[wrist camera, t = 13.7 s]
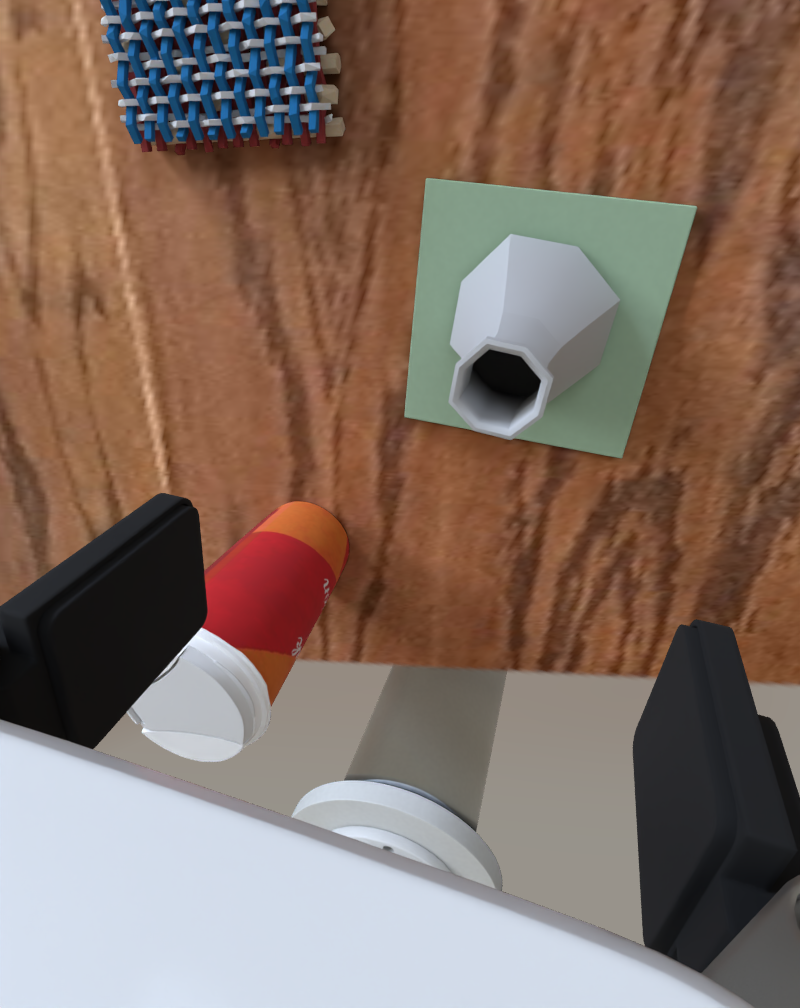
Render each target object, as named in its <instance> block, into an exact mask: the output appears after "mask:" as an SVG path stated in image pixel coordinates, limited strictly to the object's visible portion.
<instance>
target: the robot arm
mask: <svg viewBox="0 0 800 1008" xmlns="http://www.w3.org/2000/svg"><path fill="white" fill-rule="evenodd" d="M207 613H208V607H207V597H206V586H205V575H204V565H203V554H202V543H201V533H200V522H199V514H198V511H197V509H196V508H194V507H193V505H192V503H191V501H190V500H188V499H186V498H182V497H178V496H174V495H169V494H165V493H160V494H158V495H156V496H155V497H153V498H152V499H150V500H149V501H148V502H146V503H145V504H143V505H142V506H141V507H139V508H138V509H136V510H135V511H134V512H132V513H131V514H129V515H128V516H126V517H125V518H124V519H122V520H121V521H119V522H118V523H117V524H115V525H114V526H112V527H111V528H110V529H108V530H107V531H105V532H104V533H103V534H101V535H100V536H98V537H97V538H96V539H94V540H93V541H91V542H90V543H89V544H87V545H86V546H84V547H83V548H82V549H80V550H79V551H77V552H76V553H75V554H73V555H72V556H70V557H69V558H68V559H66V560H65V561H63V562H62V563H61V564H59V565H58V566H56V567H55V568H53V569H52V570H51V571H49V572H48V573H46V574H45V575H44V576H42V577H41V578H39V579H38V580H37V581H35V582H34V583H32V584H31V585H30V586H28V587H27V588H25V589H24V590H23V591H21V592H20V593H18V594H17V595H16V596H14V597H13V598H11V599H10V600H9V601H7V602H6V603H4V604H3V605H2V606H0V1008H800V797H799V793H798V790H797V787H796V784H795V781H794V778H793V775H792V772H791V768H790V765H789V763H788V759H787V756H786V753H785V750H784V747H783V744H782V740H781V738H780V734H779V731H778V729H777V727H776V724H775V722H774V721H773V720H771V719H770V718H769V717H765V716H761V715H758V714H757V710H756V707H755V704H754V700H753V697H752V693H751V690H750V686H749V683H748V679H747V676H746V673H745V669H744V666H743V662H742V659H741V655H740V652H739V649H738V645H737V642H736V638H735V635H734V632H733V630H732V629H731V628H730V627H726V626H722V625H718V624H714V623H710V622H705V621H701V620H697V619H696V620H694V621H693V622H692V623H691V625H690V626H686V625H680V626H679V627H678V629H677V631H676V633H675V636H674V638H673V640H672V643H671V645H670V648H669V650H668V653H667V655H666V658H665V660H664V662H663V665H662V667H661V670H660V672H659V675H658V677H657V679H656V682H655V684H654V687H653V689H652V692H651V694H650V697H649V699H648V701H647V704H646V706H645V709H644V711H643V714H642V716H641V719H640V721H639V723H638V726H637V728H636V731H635V735H634V741H633V763H634V781H635V799H636V817H637V835H638V852H639V871H640V889H641V906H642V907H641V908H642V926H643V939H644V944H645V946H643V945H641V944H638V943H636V942H634V941H631V940H629V939H626V938H624V937H622V936H619V935H617V934H615V933H612V932H610V931H608V930H605V929H603V928H600V927H597V926H595V925H592V924H589V923H587V922H584V921H581V920H578V919H575V918H573V917H570V916H568V915H565V914H562V913H560V912H557V911H554V910H551V909H549V908H546V907H543V906H540V905H538V904H535V903H532V902H530V901H527V900H524V899H522V898H519V897H516V896H513V895H511V894H508V893H506V892H502V891H500V890H497V889H495V888H492V887H489V886H486V885H483V884H480V883H477V882H475V881H472V880H469V879H466V878H463V877H460V876H458V875H455V874H453V873H452V872H451V871H450V869H449V868H448V867H447V866H446V865H445V864H444V863H443V862H442V861H441V860H440V859H439V858H437V857H436V856H435V855H434V854H433V853H431V852H430V851H428V850H427V849H425V848H424V847H422V846H421V845H419V844H418V843H416V842H414V841H411V840H409V839H407V838H405V837H403V836H401V835H398V834H395V833H393V832H390V831H386V830H382V829H378V828H374V827H366V826H346V827H341V828H337V829H334V830H332V831H329V830H326V829H324V828H321V827H318V826H315V825H312V824H309V823H306V822H303V821H301V820H298V819H295V818H292V817H289V816H286V815H283V814H280V813H277V812H275V811H272V810H269V809H266V808H263V807H260V806H257V805H254V804H251V803H248V802H246V801H243V800H240V799H237V798H234V797H231V796H228V795H225V794H222V793H219V792H217V791H214V790H211V789H208V788H205V787H202V786H199V785H196V784H193V783H190V782H188V781H185V780H182V779H178V778H176V777H172V776H170V775H167V774H164V773H161V772H158V771H155V770H152V769H149V768H146V767H143V766H140V765H137V764H134V763H132V762H129V761H126V760H122V759H120V758H117V757H114V756H111V755H108V754H105V753H102V752H99V751H96V750H93V749H94V748H95V747H96V746H97V745H98V744H99V742H100V741H101V740H102V739H103V738H104V737H105V736H106V735H107V733H108V732H109V731H110V730H111V729H112V728H113V727H114V726H115V724H116V723H117V722H118V721H119V720H120V719H121V718H122V716H123V715H124V714H125V713H126V712H127V711H128V710H129V709H130V708H131V706H132V705H133V704H134V703H135V702H136V701H137V700H138V699H139V697H140V696H141V695H142V694H143V693H144V692H145V691H146V690H147V689H148V687H149V686H150V685H151V684H152V683H153V682H154V681H155V680H156V678H157V677H158V676H159V675H160V674H161V673H162V672H163V671H164V669H165V668H166V667H167V666H168V665H169V664H170V663H171V662H172V660H173V659H174V658H175V657H176V656H177V655H178V654H179V653H180V651H181V650H182V649H183V648H184V647H185V646H186V645H187V644H188V642H189V641H190V640H191V639H192V638H193V637H194V636H195V635H196V633H197V632H198V631H199V630H200V629H201V628H202V626H203V625H204V623H205V621H206V618H207Z"/></svg>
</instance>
